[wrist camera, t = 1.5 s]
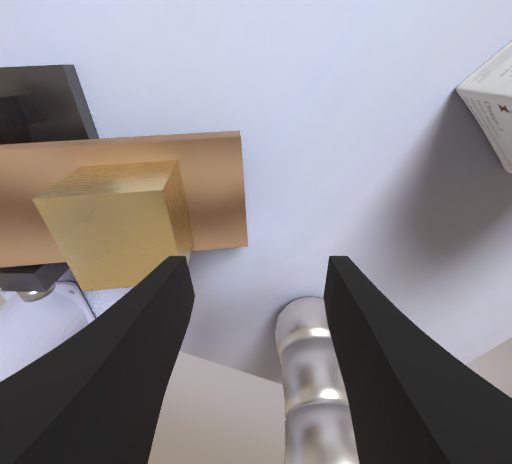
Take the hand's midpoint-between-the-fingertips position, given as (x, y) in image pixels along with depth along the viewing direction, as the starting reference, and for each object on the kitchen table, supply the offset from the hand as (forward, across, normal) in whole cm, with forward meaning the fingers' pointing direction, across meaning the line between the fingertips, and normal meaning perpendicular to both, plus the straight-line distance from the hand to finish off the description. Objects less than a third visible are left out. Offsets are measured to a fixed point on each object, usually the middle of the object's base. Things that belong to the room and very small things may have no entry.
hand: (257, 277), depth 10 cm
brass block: (+6, +7, 0) cm, 9 cm away
